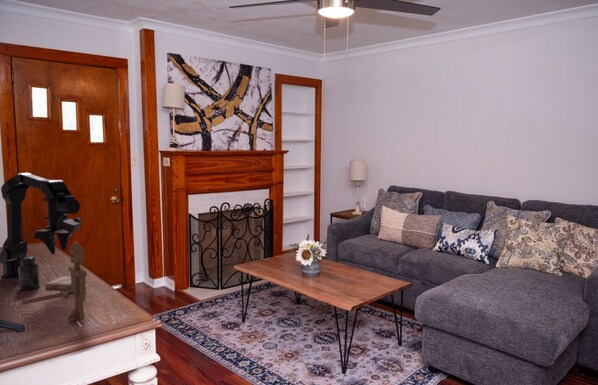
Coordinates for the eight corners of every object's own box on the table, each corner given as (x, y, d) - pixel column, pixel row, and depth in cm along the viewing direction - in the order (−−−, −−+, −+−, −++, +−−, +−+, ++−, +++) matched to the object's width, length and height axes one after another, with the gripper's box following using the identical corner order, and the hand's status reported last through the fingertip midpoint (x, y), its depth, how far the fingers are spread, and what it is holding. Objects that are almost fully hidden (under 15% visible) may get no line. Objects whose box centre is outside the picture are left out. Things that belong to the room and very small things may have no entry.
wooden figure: (22, 324, 134) (16, 244, 131) (84, 310, 146) (80, 237, 143) (30, 340, 123) (25, 253, 121) (97, 323, 135) (93, 244, 132)
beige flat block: (45, 290, 167) (45, 283, 167) (62, 282, 177) (62, 275, 177) (69, 291, 166) (69, 284, 166) (85, 283, 176) (85, 276, 176)
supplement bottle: (44, 286, 171) (42, 256, 169) (27, 291, 165) (25, 260, 163) (32, 283, 174) (30, 254, 172) (15, 288, 167) (13, 258, 166)
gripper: (59, 216, 158) (62, 258, 160) (89, 209, 176) (92, 247, 178) (31, 216, 159) (34, 258, 161) (64, 209, 178) (67, 246, 179)
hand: (58, 252), depth 170 cm, fingers open, 6 cm apart
